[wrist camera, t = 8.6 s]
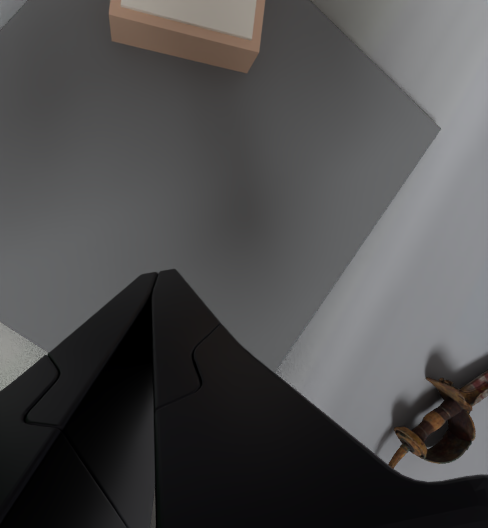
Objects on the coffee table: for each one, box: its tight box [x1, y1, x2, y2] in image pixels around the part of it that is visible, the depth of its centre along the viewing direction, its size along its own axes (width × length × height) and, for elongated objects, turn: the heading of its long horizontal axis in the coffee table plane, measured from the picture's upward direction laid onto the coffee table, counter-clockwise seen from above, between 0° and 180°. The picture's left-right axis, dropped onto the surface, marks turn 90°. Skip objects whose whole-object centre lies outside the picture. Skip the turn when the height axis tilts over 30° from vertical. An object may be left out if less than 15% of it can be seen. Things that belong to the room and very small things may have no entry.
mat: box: [0, 0, 441, 373], centre depth 19 cm, size 18×20×1 cm
